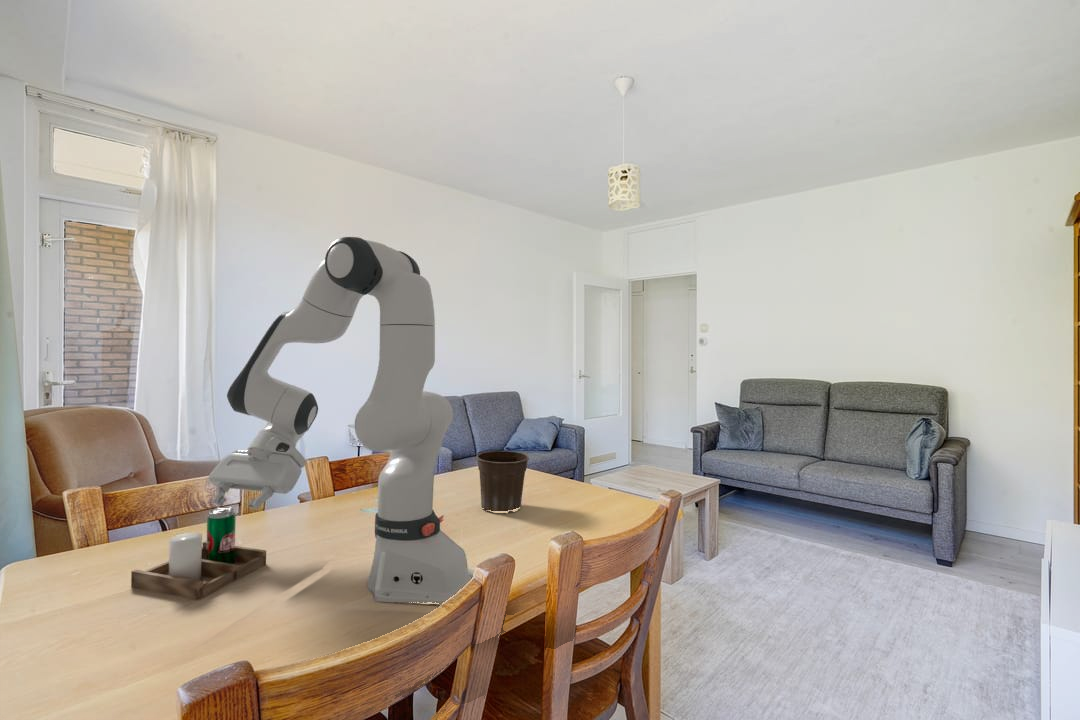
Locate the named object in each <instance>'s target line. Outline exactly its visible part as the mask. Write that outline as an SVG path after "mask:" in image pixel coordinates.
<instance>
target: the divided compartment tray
mask: <svg viewBox="0 0 1080 720" xmlns="http://www.w3.org/2000/svg"><path fill="white" fill-rule="evenodd" d="M206 548H207V540H205V541H202V566H201V581H197V580H191V579H186V578H180V577H174V576H169V560H168V561H165V562H163V563H161V564H159V565H157V566H153V567H150V568H149V569H146V570H141V569H134V570H132V571H131V572H130V573H131V575H130V577H131V578H130V579H131V581H130V582H131V583H130V584H131V585H130V587H131V588H132V589H139V590H142V591H149V592H155V593H159V594H165V595H169V596H170V595H171V596H175V597H180V598H186V599H191V600H196V601H200V600H202V599H204V598H205V597H207V596H209V595H211V594H213V593H215V592H216V591H219V590H221V589H222V588H225V587H227V586H228V585H230V584H232V583H234V582H236V581H238V580H240V579H242V578H243V577H245V576H248V575H249V574H251V573H253V572H255V571H257V570H258V569H260V568H262V567H264V566H266V565H267V550H265V549H259V548H253V547H246V546H240V545H235V562H234V564H229V563H223V562H217V561H210V560H206Z"/></svg>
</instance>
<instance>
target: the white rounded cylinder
mask: <svg viewBox="0 0 1080 720" xmlns="http://www.w3.org/2000/svg"><path fill="white" fill-rule="evenodd" d="M168 542H169V543H168V544H169V545H168V546H169V547H168V561H169V576H174V577H180V578H186V579H191V580H197V581H201V566H202V547H203V533H200V532H186V533H185V532H184V533H181V534H177V535H173V536H172V537H170V538H169V540H168Z"/></svg>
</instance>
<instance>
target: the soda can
mask: <svg viewBox="0 0 1080 720" xmlns="http://www.w3.org/2000/svg"><path fill="white" fill-rule="evenodd" d="M236 515H237V514H236V511H234V507H233V506H232V507H231V506H220V507H215V508H212V509H211V510H209V513H208V515H207V516H206V541H207V548H206V560H210V561H217V562H223V563H229V564H234V562H235V546H236V523H237V522H236V520H237V519H236Z"/></svg>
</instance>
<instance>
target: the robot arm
mask: <svg viewBox="0 0 1080 720" xmlns="http://www.w3.org/2000/svg"><path fill="white" fill-rule="evenodd" d="M306 286H307V287H306V289H305V291H304V293H303V296H302V299H301V301H300V302H299V303H298V305H297V306H296V307H295V308H294V309H293V310H291V311H284V312H281V314H279V315H278V316H277V317H276V318H275V319H274V320H273V322H272V323H271V325H270V326H269V327H268V329H267V330H266V331H265V334H263V336H262V338H261V339H260V341H259V343H258V344H257V346H256V348H255V350H254V351H253V352H252V354H251V356H250V358H249V359H248V361H247V362H246V364H245V366H243V368H242V370H241V371H240V373H239V374H238V375H237V376H236V377H235V379H234V380H233V381H232V383H231V385H230V386H229V387H228V391H227V393H226V397H227V400H228V403H229V405H230V407H231V409H232V410H233V411H234V412H236V413H238V414H239V413H240V414H244V415H247V416H252V417H254V418H257V419H260V420H262V421H265V422H267V423H266V425H265V426H264V427H263V428H262V429H261V430H260V431H259V432H258V433H257V434H256V436H255V438H254V439H253V440H252V442H251V443H250V445H249V446H248V447H247V449H246V450H245V449H244V450H243V449H236V450H235V451H232V452H230V453H229V454H227V455H226V456H225V457H223V458H222V460H221V461H220V462H219V463H218V464H217V465H216V466H215V467H214V468H213V470H212V471H211V472H210V473H209V475H208V481H209V482H210V483H211V484H212V485H214V486H215V487H216V489H215V490H216V491H215V494H216V495H215V496H214V497H213V499H212V500H211V503H212V504H213V505H215V506H220V507H223V506H224V503H225V502H226V501H227V498H226V497H225V494H226V493H228V492H229V491H230V489H233V490H244V491H253V492H254V491H255V492H261V493H260V494H258V495H257V496H256V497H255V498H254V497H252V498H251V500H250V502H249V503H248V508H250V509H251V510H259V509H260V507H261V506H262V504H263V503H265V502H266V501H267V500H269V499H270V498H271V497H272V496H273V494H284V495H286V494H288V493H289V492H291V491H292V490H293V489H295V488H294V487H295V486H296V484H297V482H298V480H299V479H300V476H301V474H302V469H303V468H304V467H305V466H306V465H307V459H306V458H305V457H304V455H303V454H302V453H301V452H300V451H299V450H298V449H297V448H296V447H297V443H298V442H299V440H301V438H303V436H304V435H305V434H306V432H308V431H309V429H310V428H311V427H312V424H313V423H314V421H315V420H316V418H317V415H318V412H319V406H318V402H317V399H316V397H315V396H314V394H313V393H311V391H309V390H306V389H303V388H301V387H299V386H296V385H294V384H290V383H288V382H285V381H284V380H283V381H282V380H280V379H279V378H278V379H277V378H276V377H273V376H271V375H270V374H269V372H268V370H269V369H270V367H271V365H272V364H273V362H274V361H275V359H276V358H277V356H278V354H279V353H280V351H281V349H282V348H283V347H284V346H285V345H286V344H290V343H291V344H292V343H293V344H294V343H302V344H326V343H330V342H334V341H336V340H338V339H340V338H341V337H343V336H344V335H345V333H346V331H347V330H348V328H349V326H350V325H351V322H352V320H353V317H354V315H355V313H356V309H357V308H358V307H357V306H358V304H359V302H360V300H361V299H362V298H363V297H364V296H366V295H368V296H373V297H374V298H375V299H376V301H377V302H378V304H379V354H378V355H379V358H378V367H377V371H376V376H375V379H374V383H373V385H372V389H371V391H370V394H369V396H368V398H367V399H366V401H365V402H364V403H363V405H362V406H361V407H360V408H359V410H358V411H357V413H356V415H355V419H354V431H355V436H356V439H357V440H358V441H359V443H360V444H361V445H362V446H363V447H364V448H365V449H367V450H369V451H372V452H381V453H386V452H387V453H388V452H389V453H390V455H389V458H388V460H387V462H386V465H385V466H384V467H383V468H382V470H381V471H380V474H379V475H378V480H377V482H378V486H377V489H378V490H377V512H376V514H375V517H374V518H375V519H374V536H375V537H374V538H375V546H374V553H373V559H372V565H371V569H370V573H369V576H368V579H367V581H366V584H367V585H366V586H367V588H368V589H369V590H370V592H372V593H373V598H374V601H376V602H379V603H382V602H383V603H395V602H397V603H396V604H399V603H400V602H401V603H400V604H412V603H413V602H414V603H415V602H416V603H417V602H419V603H423V602H424V603H427V602H432V603H435V602H436V603H439V604H438V605H437V606H442V605H441V604H442V603H443V602H445V601H446V600H448V599H449V598H450V597H452V596H453V595H455V594H456V593H457V592H458V591H459V590H460V589H462V588H463V587H464V586H465V585H466V584H467V583H468V582H469V581H470V580H471V579H472V577H473V573H474V571H475V569H470V568H469V566H468V559H467V554H466V551H465V550H464V549H463V548H462V547H461V546H460V545H459V544H458V543H456V542H455V541H454V540H453V539H452V538H451V537H449V536H448V535H447V534H446V533H445V532H443V530H442V529H441V523H442V522H443V521H444V520H445V519H444V516H445V515H443V514H442V515H440V517H438V516H437V514H436V512H435V511H434V509H433V507H434V506H433V504H434V503H433V502H434V486H435V485H434V482H435V471H436V467H437V463H438V459H439V455H440V452H441V447H442V444H443V441H444V437H445V435H446V433H447V432H448V430H449V428H450V427H451V425H452V423H453V420H454V412H453V411H454V410H453V408H452V405H451V403H450V401H449V400H448V398H446V397H445V396H443V395H441V394H438V393H436V392H435V393H434V392H431V391H425V390H424V388H425V385H426V384H425V383H426V381H427V377H428V376H429V373H430V372H431V370H433V368H434V365H435V363H436V342H435V341H436V326H435V325H436V322H435V321H436V319H435V308H434V301H433V294H432V288H431V285H430V283H429V281H428V279H426V278H425V277H424V276H423V275H421V270H420V267H419V265H418V263H417V261H416V260H415V259H414V258H412V257H411V256H410V255H409V254H407V253H405V252H403V251H401V250H397V249H394V248H392V247H389V246H387V245H385V244H384V243H380V242H377V241H373V240H367V239H364V238H361V237H359V236H343V237H340V238H337V239H335V240H334V241H333V242H332V243H331V244H330V245H329V246H328V249H327V250H326V254H325V257H324V259H323V261H321V262H320V264H319V266H318V267H317V268H316V270H315V271H314V273H313V275H312V276H311V278H310V280H309V282H308V285H306ZM398 602H399V603H398ZM402 602H404V603H402ZM405 602H406V603H405ZM407 602H408V603H407ZM409 602H410V603H409ZM411 602H412V603H411Z"/></svg>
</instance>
